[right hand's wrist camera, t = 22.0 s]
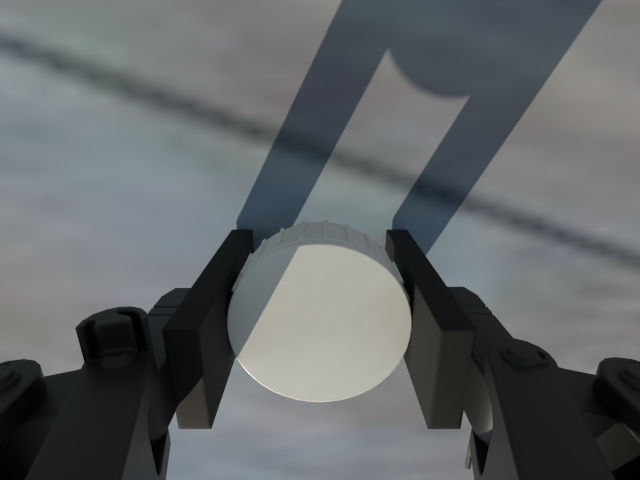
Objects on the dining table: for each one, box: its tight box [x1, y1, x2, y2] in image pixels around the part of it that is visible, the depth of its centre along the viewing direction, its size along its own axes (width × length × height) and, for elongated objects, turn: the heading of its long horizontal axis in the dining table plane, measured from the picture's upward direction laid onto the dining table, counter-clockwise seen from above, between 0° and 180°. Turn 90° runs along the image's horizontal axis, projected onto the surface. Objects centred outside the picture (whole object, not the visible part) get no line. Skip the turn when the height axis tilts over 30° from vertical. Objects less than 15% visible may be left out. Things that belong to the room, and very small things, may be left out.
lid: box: [227, 220, 412, 402], centre depth 11 cm, size 5×5×2 cm
